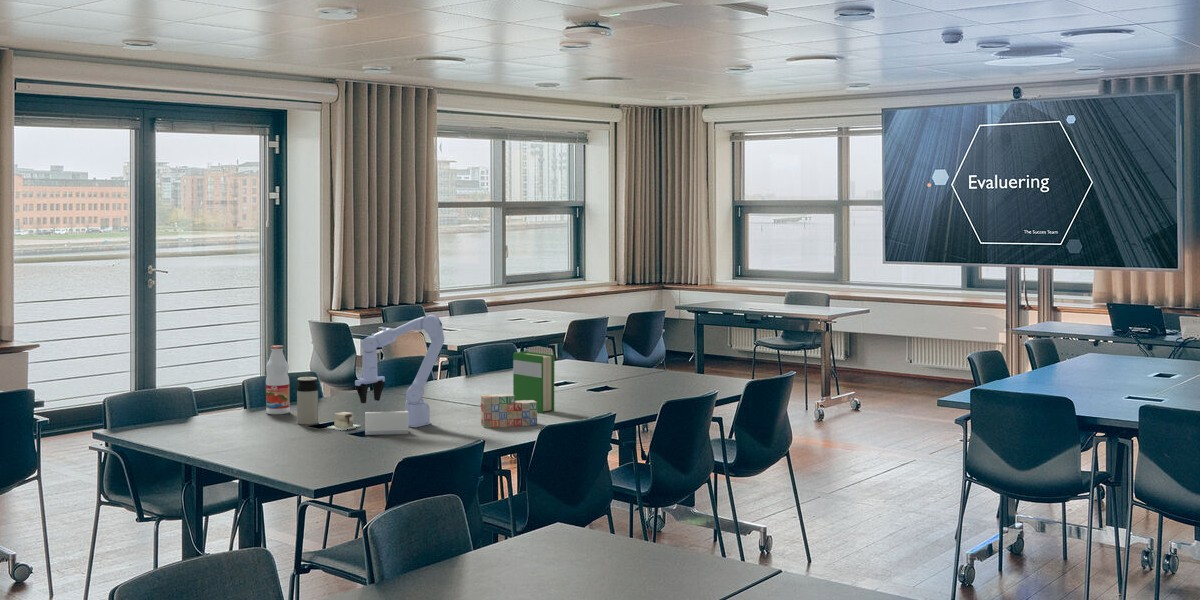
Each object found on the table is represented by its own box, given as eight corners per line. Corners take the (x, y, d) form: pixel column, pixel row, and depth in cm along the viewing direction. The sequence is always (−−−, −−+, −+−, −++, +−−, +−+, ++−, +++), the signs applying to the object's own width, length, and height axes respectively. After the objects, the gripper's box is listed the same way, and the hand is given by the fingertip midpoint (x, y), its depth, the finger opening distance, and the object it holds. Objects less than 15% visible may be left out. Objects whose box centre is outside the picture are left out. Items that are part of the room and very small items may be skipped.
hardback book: (554, 411, 481) (554, 354, 480) (541, 413, 476) (541, 356, 474) (526, 406, 494) (526, 351, 492) (513, 408, 488) (513, 352, 487)
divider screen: (365, 434, 428) (365, 413, 427) (365, 432, 433) (365, 411, 432) (408, 433, 431) (408, 412, 430) (408, 431, 436) (408, 410, 435)
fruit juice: (293, 411, 479) (292, 344, 477) (284, 415, 469) (283, 347, 467) (272, 410, 480) (271, 344, 478) (262, 414, 471) (261, 346, 469)
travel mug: (312, 425, 447) (312, 379, 445) (293, 424, 448) (293, 379, 447) (321, 421, 454) (321, 377, 453) (303, 421, 456) (302, 376, 455)
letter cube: (343, 424, 446) (343, 411, 445) (353, 425, 443) (353, 413, 443) (334, 426, 442) (334, 413, 441) (344, 427, 439) (343, 414, 438)
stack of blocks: (533, 422, 455) (533, 392, 454) (537, 425, 449) (537, 394, 449) (480, 425, 450) (480, 394, 449) (483, 428, 444) (483, 396, 443)
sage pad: (345, 424, 449) (345, 423, 449) (360, 426, 444) (360, 425, 444) (326, 428, 440) (326, 427, 440) (341, 430, 436) (341, 429, 436)
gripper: (375, 364, 454) (375, 398, 455) (349, 368, 441) (349, 403, 442) (388, 365, 450) (388, 399, 451) (362, 369, 438) (362, 405, 439)
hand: (370, 401), depth 446 cm, fingers open, 7 cm apart
